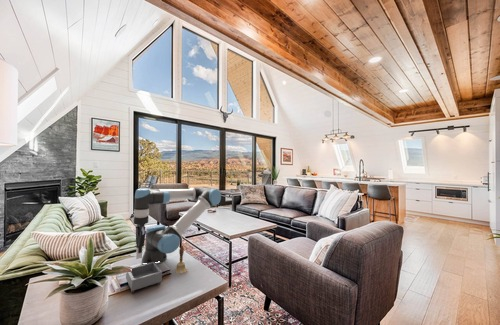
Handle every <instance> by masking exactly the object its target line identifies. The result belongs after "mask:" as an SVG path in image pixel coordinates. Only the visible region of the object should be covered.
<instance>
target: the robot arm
mask: <svg viewBox="0 0 500 325" xmlns="http://www.w3.org/2000/svg"><path fill="white" fill-rule="evenodd" d="M221 199H222V193H221V191H220V190H219V189H218V188H215V187H214V188H213V187H208V186H199V187H190V188H157V189H156V188H137V189H136V190H135V193H134V207H133V208H134V210H133V211H132V213H133V216H134V217H133V224H134V225H136V226H135V244H136V246H135V247H136V250H135V251H136V253H135V254H136V255H135V258H136V260H139V259H141V264H142V263H151V262H158V261H160V262H162V263H163V262H165V261H166V260H167V258H168V255H167V254H172V253H174V252H175V251H177V249H178V248H180V247H179V246H180V243H181V240H182V239H183V235H184V233H186V231H187V230H188V229H189V228H190V227H191V226H192V225H193V224H194V223H195V222H196V220H197V219H199V218H200V217H201V215H202V214H203V213H204V212H205V211H206V210H207V209H208V210H210V209H211V208H213V206H217V205H218V204H219V203H220V202H221ZM174 200H175V201H177V200H178V201H179V200H189V201H196V202H195V203H194V204H193V205H191V207H189V209H188V210H187V211H186V212H185V213H184V214H183V215H182V216H181V217H180V218H179V219H177V220H176V221H175V223H174V224H172V225H168V226H167V227H166V225H165V224H157V225H150V226H148V227H147V228H146V226H145V225H146V224H148V223H149V220H150V218H149V215H150V205H152V206H153V205H164V204H168V203H170V201H174ZM144 246H145V248H144ZM143 248H144V249H145V250H144V253H143Z"/></svg>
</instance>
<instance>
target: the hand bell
mask: <svg viewBox="0 0 500 325" xmlns="http://www.w3.org/2000/svg"><path fill="white" fill-rule="evenodd" d="M184 252H185V248H184V245H180V247H179V262H178V263H176V268H175V269H174V272H175V273H176V274H188V272H189V270H188V269H187V268H186V263H185V262H184V261H183V260H184V259H183V258H184V257H183V256H184V254H185V253H184Z"/></svg>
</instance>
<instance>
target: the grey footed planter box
mask: <svg viewBox="0 0 500 325" xmlns="http://www.w3.org/2000/svg"><path fill="white" fill-rule="evenodd" d="M131 268H132V272H127V273H126V272H125V279H126V283H127V282H128V286H129V288H130V293H131V294H133V293H134V294H135V293H136V290H139V289H143V288H146V287H149V286H152V285H155V284H156V285H160V284H161V282H162V281H163V271H162V269H160V267H159V266H158V264H156V263H155V262H151V263H147V264H141V265H136V266H132V267H131Z"/></svg>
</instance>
